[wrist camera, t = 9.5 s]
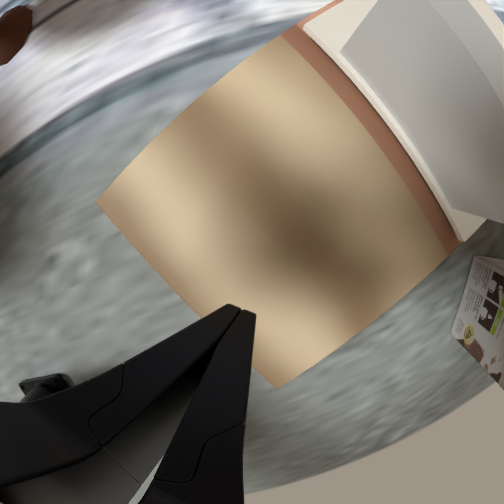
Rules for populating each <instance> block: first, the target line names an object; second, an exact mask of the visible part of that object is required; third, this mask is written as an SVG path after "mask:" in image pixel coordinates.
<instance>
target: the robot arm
mask: <svg viewBox="0 0 504 504" xmlns="http://www.w3.org/2000/svg"><path fill="white" fill-rule="evenodd" d="M255 327H256V314H255V313H253V312H251V311H248V310H245V309H243V310H242V309H241V308H240V307H238V306H235V305H233V304H226V305H224V306H222V307H220V308H219V309H217V310H215V311H214V312H212V313H210V314H208V315H207V316H205V317H203V318H202V319H200V320H198V321H196V322H195V323H193V324H191V325H189V326H188V327H186V328H184V329H182V330H181V331H179V332H177V333H175V334H174V335H172V336H170V337H168V338H167V339H165V340H163V341H161V342H160V343H158V344H156V345H154V346H152V347H151V348H149V349H147V350H145V351H144V352H142V353H140V354H138V355H136V356H135V357H133V358H131V359H129V360H127V361H125V362H124V364H123V363H122V364H120V365H118V366H116V367H114V368H112V369H111V370H109V371H107V372H105V373H103V374H101V375H99V376H97V377H95V378H92V379H90V380H88V381H85V382H83V383H81V384H78V385H76V386H73V387H70V388H69V387H68V386H67V384H66V383H65V381H64V380H63V378H62V377H61V376H60V375H58V374H55V375H50V376H45V377H40V378H35V379H30V380H24V381H21V382H20V383H19V387H20V388H21V390H22V391H23V393H24V394H25V397H24V398H23V399H22V400H21V401H20V402H19V403H12V402H0V504H128V503H129V502H130V500H131V499H132V498H133V496H134V495H135V494H136V492H137V491H138V490H139V488H140V487H141V484H143V483H144V481H145V480H146V479H147V477H148V476H149V474H150V473H151V472H152V470H153V469H154V467H155V466H156V465H157V463H158V462H159V460H160V459H161V458H162V456H163V455H164V453H165V452H166V453H165V455H164V457H163V459H162V461H161V463H160V465H159V467H158V469H157V471H156V473H155V476H154V479H153V480H152V482H151V484H150V486H149V487H148V489H147V491H146V493H145V494H144V496H143V497H142V499H141V500H140V502H139V503H138V504H244V487H243V447H244V435H245V423H246V415H247V405H248V396H249V386H250V376H251V367H252V357H253V347H254V337H255Z"/></svg>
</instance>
